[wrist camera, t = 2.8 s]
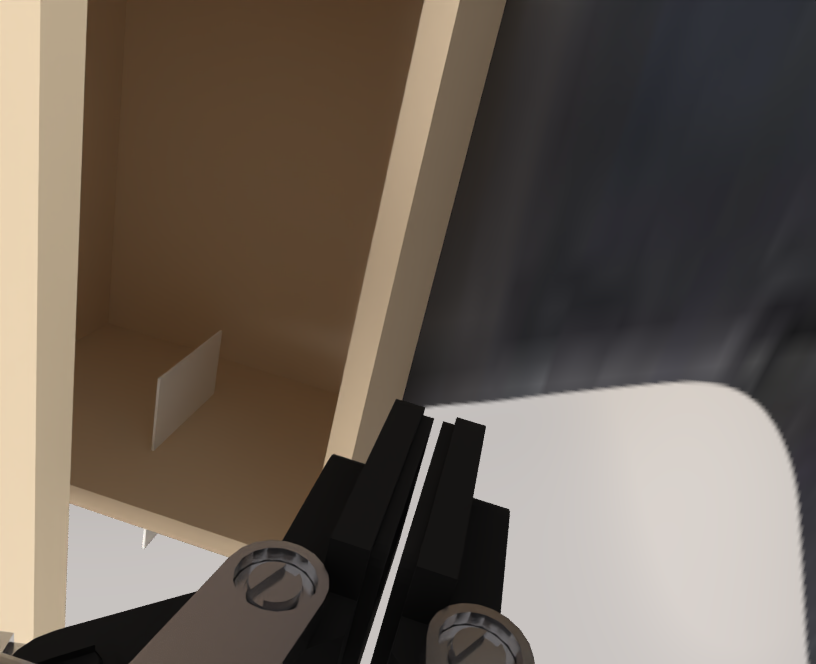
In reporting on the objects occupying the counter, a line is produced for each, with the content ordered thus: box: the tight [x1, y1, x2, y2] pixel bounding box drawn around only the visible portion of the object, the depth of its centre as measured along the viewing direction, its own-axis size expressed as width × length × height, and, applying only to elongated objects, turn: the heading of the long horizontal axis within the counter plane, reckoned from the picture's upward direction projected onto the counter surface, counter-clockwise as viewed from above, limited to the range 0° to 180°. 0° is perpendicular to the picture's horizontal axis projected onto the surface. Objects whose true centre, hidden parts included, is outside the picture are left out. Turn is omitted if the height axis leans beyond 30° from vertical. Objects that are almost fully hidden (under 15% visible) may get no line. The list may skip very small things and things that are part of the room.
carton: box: [69, 0, 506, 557], centre depth 26 cm, size 16×24×12 cm, turn 167°
